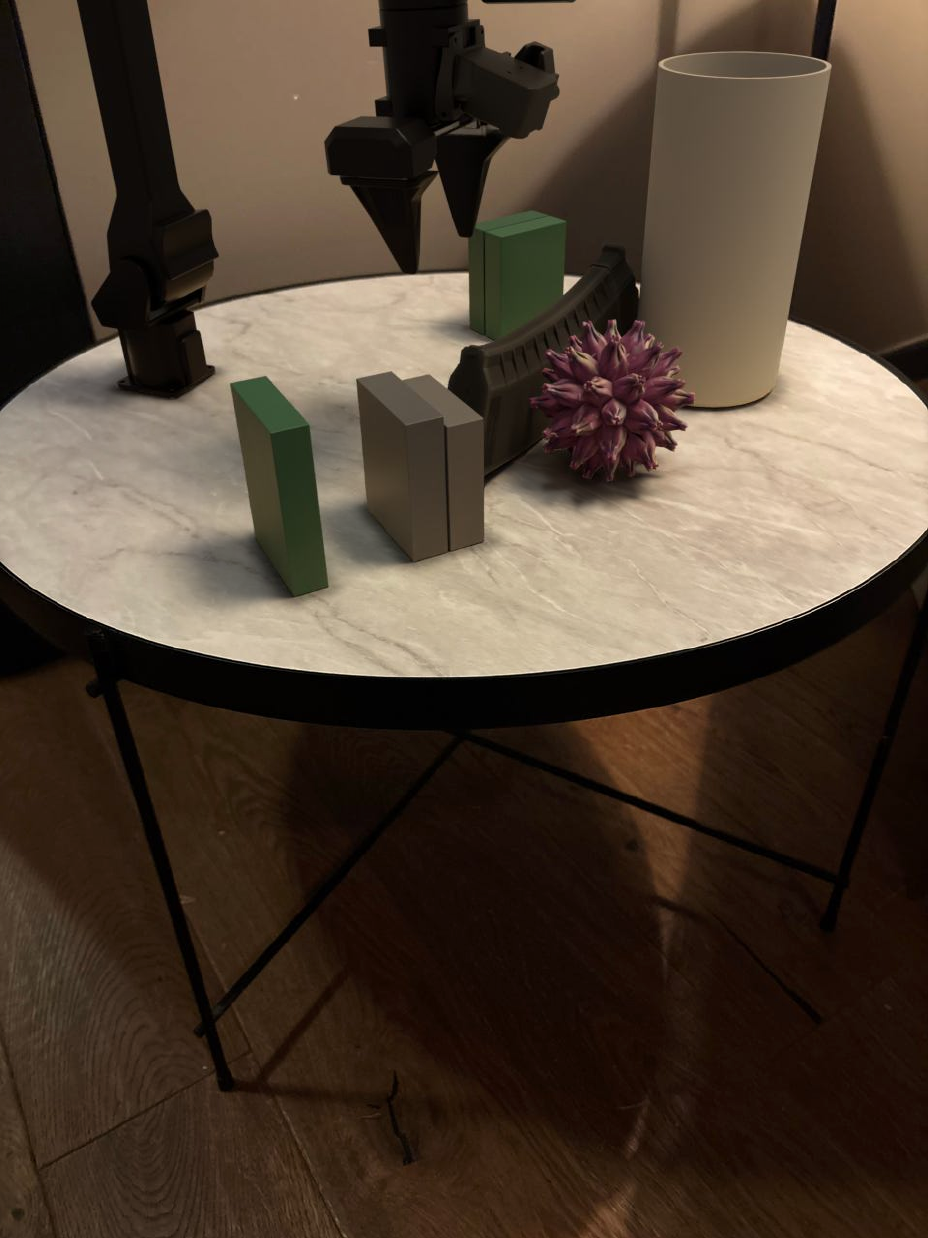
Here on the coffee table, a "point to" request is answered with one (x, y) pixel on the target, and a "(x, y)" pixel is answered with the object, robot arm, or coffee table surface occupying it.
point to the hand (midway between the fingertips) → (439, 254)
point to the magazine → (539, 356)
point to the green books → (514, 270)
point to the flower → (612, 400)
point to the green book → (281, 483)
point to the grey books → (422, 463)
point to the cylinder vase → (728, 214)
